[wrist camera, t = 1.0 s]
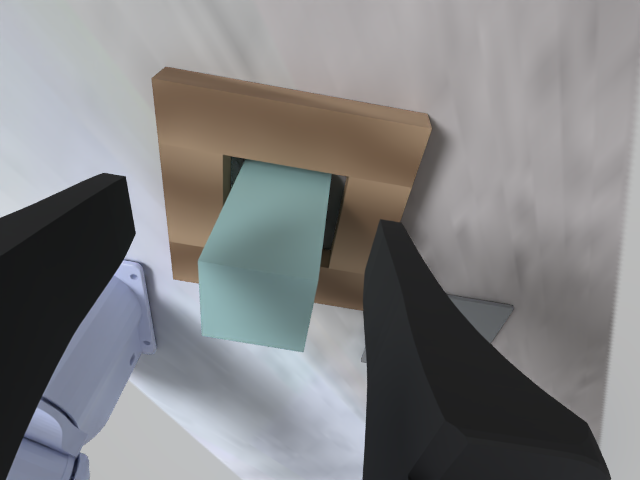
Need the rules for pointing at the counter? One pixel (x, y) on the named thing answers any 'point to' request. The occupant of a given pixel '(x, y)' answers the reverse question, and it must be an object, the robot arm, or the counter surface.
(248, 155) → the block
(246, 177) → the peg
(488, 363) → the robot arm
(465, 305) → the rubber mat
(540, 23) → the counter surface
